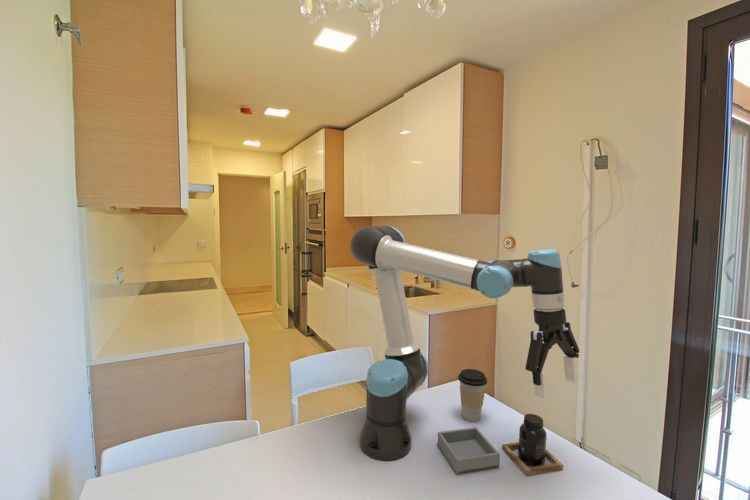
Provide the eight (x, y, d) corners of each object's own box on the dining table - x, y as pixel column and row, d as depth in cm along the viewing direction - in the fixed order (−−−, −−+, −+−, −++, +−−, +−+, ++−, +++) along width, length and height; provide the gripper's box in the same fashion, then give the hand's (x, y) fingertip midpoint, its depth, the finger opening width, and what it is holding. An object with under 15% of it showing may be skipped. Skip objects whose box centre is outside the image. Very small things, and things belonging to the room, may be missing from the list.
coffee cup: (486, 426, 114) (489, 381, 113) (456, 422, 116) (458, 378, 114) (484, 411, 123) (486, 369, 122) (456, 407, 125) (457, 366, 124)
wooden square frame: (502, 449, 103) (502, 444, 102) (535, 444, 105) (535, 439, 105) (526, 476, 92) (527, 470, 92) (562, 470, 95) (563, 464, 94)
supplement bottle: (513, 452, 101) (515, 412, 100) (534, 450, 103) (536, 410, 102) (528, 469, 95) (530, 426, 93) (550, 466, 96) (553, 424, 95)
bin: (437, 445, 104) (437, 432, 104) (475, 439, 107) (476, 427, 107) (456, 474, 92) (457, 460, 92) (499, 467, 95) (499, 453, 95)
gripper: (532, 319, 83) (540, 409, 83) (589, 301, 96) (596, 378, 96) (505, 316, 89) (513, 398, 90) (562, 299, 102) (569, 371, 103)
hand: (556, 388), depth 93 cm, fingers open, 13 cm apart
